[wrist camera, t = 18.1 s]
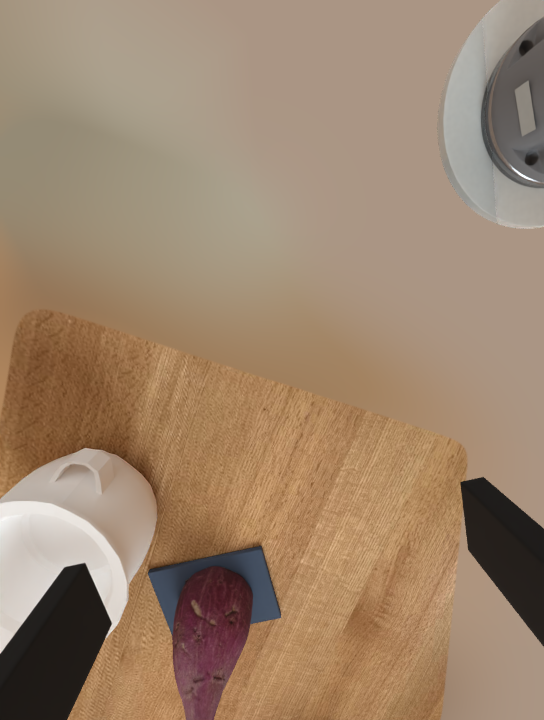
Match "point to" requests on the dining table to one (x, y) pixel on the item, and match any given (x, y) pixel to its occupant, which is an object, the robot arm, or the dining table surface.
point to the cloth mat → (242, 562)
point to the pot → (73, 532)
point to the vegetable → (209, 637)
